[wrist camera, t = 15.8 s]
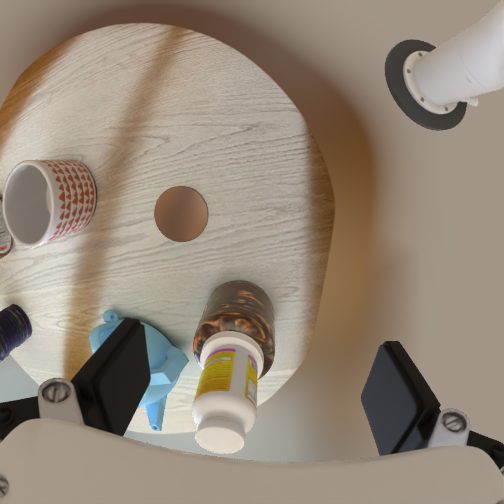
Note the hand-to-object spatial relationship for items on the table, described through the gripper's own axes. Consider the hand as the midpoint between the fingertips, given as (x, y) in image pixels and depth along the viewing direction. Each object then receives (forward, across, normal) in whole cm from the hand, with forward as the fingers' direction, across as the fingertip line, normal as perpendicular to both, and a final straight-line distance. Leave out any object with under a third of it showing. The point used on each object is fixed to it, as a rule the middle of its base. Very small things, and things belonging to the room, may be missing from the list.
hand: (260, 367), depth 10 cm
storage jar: (+35, +60, +30) cm, 75 cm away
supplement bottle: (+21, +2, +16) cm, 27 cm away
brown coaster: (+36, +14, 0) cm, 38 cm away
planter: (+36, +36, -2) cm, 51 cm away
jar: (+36, +3, +16) cm, 40 cm away
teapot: (+36, +22, +29) cm, 51 cm away
